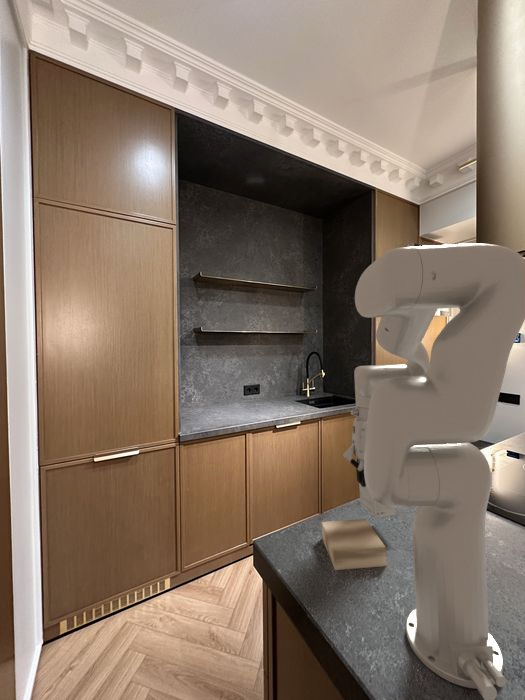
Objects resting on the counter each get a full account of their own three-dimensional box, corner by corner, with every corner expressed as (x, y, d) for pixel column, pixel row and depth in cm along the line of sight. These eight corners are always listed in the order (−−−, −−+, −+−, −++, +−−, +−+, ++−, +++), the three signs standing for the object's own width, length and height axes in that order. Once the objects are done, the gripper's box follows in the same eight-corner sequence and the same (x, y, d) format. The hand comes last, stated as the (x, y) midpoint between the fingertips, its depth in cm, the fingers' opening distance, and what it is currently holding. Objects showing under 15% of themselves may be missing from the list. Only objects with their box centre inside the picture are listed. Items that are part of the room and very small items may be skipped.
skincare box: (396, 516, 76) (393, 454, 77) (373, 519, 75) (370, 456, 76) (379, 501, 84) (376, 445, 85) (357, 503, 84) (355, 447, 84)
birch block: (386, 566, 66) (385, 547, 66) (334, 570, 65) (334, 550, 65) (366, 535, 77) (365, 518, 77) (322, 538, 76) (321, 521, 76)
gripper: (342, 417, 76) (346, 492, 76) (411, 414, 77) (415, 487, 77) (334, 412, 84) (337, 480, 83) (397, 409, 85) (400, 476, 84)
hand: (374, 483), depth 80 cm, fingers closed on skincare box, 6 cm apart
